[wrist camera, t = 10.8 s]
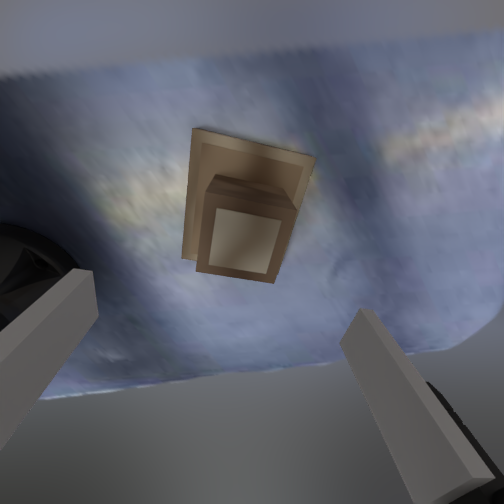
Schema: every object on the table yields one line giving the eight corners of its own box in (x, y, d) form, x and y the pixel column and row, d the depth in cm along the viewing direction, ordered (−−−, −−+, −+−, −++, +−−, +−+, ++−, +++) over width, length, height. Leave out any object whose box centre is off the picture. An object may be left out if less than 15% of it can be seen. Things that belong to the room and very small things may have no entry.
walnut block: (206, 236, 26) (195, 272, 19) (215, 173, 22) (204, 192, 16) (266, 247, 27) (274, 284, 20) (283, 188, 23) (298, 211, 17)
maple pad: (185, 250, 29) (181, 259, 27) (196, 127, 22) (192, 128, 20) (275, 265, 30) (278, 275, 29) (311, 156, 24) (316, 158, 22)
